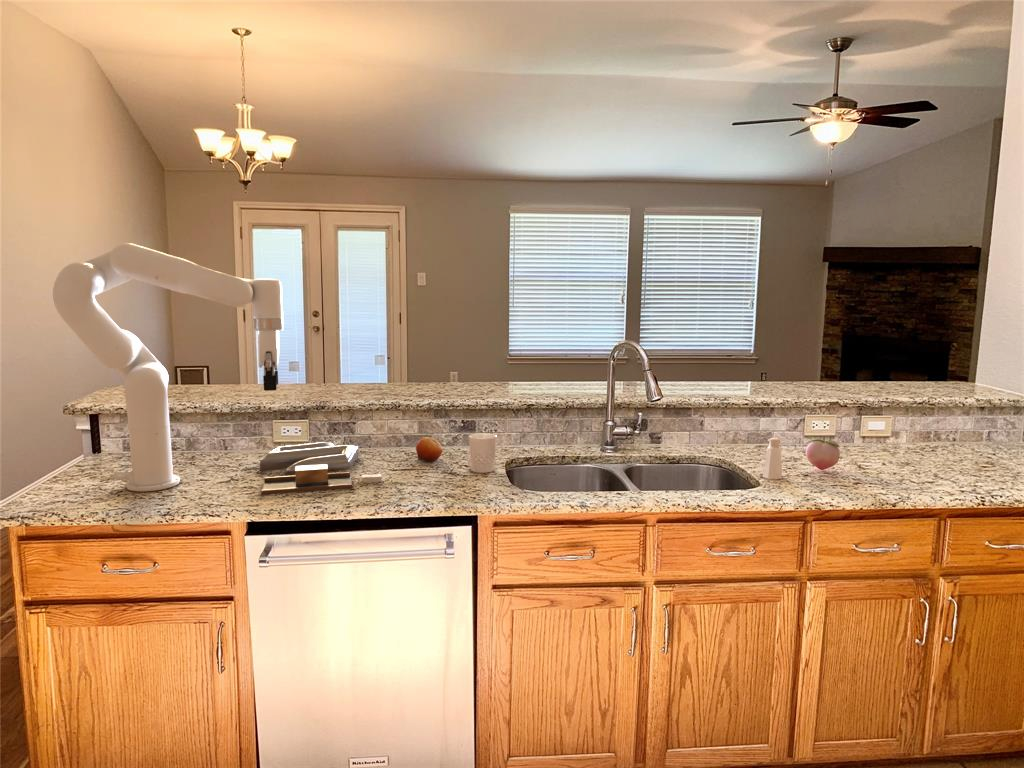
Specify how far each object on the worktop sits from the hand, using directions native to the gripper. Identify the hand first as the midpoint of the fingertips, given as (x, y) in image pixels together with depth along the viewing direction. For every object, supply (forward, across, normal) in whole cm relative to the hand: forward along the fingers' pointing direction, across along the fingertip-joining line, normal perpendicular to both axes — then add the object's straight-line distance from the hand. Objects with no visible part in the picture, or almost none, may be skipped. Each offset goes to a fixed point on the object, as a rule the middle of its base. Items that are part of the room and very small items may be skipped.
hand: (271, 387), depth 191 cm
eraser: (+23, +17, +10) cm, 30 cm away
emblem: (+24, -5, +10) cm, 27 cm away
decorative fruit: (+24, +33, +154) cm, 159 cm away
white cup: (+24, +10, +57) cm, 63 cm away
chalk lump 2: (+23, +17, +25) cm, 38 cm away
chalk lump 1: (+24, +17, +24) cm, 38 cm away
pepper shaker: (+24, +36, +135) cm, 142 cm away
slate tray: (+24, +17, +9) cm, 31 cm away
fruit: (+24, -4, +44) cm, 51 cm away
